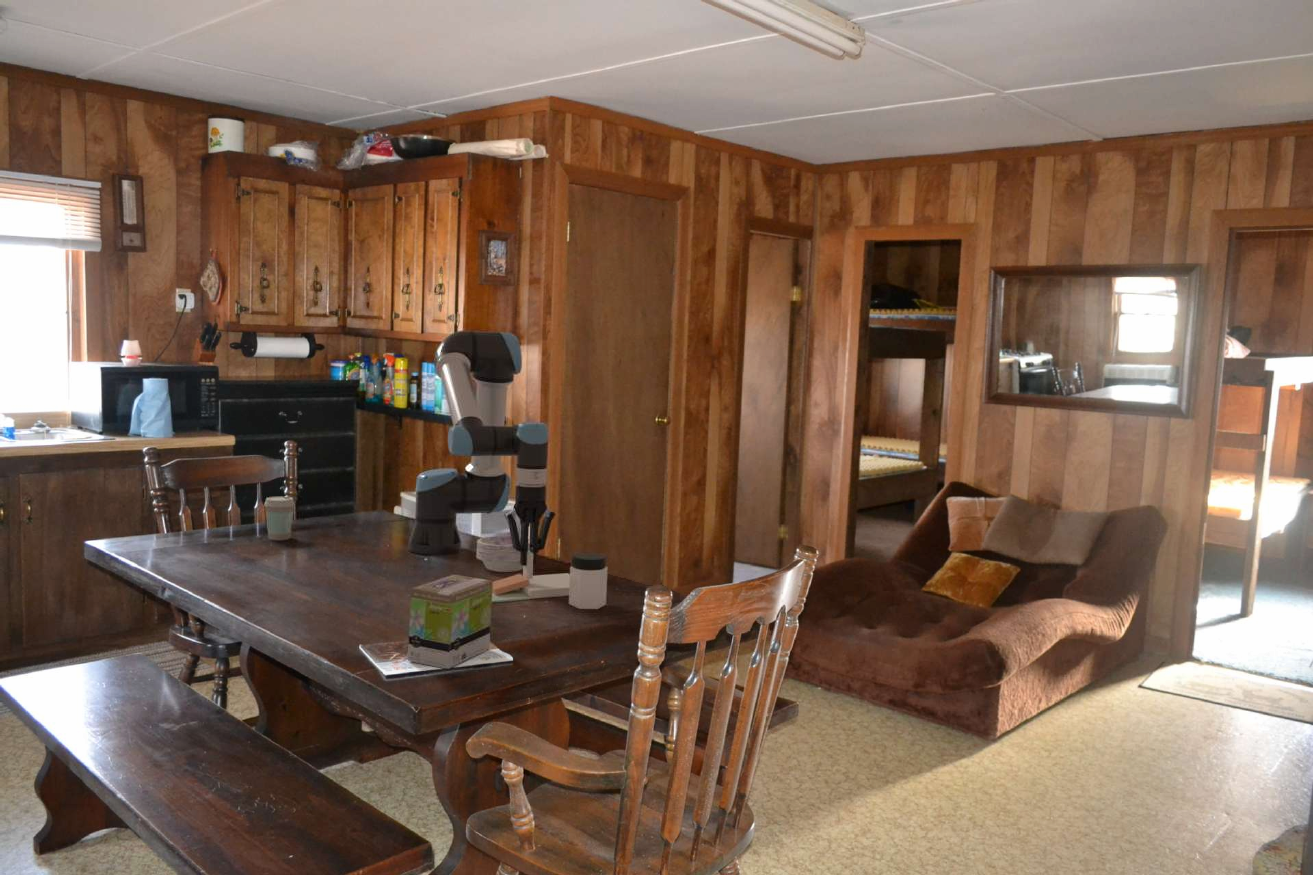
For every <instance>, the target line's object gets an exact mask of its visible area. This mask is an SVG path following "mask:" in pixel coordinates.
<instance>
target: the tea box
mask: <svg viewBox="0 0 1313 875" xmlns="http://www.w3.org/2000/svg"><path fill="white" fill-rule="evenodd" d="M493 582H494V581H492V580H491V579H490V580H489V579H484V578H476V577H471V576H466V575H465V576H464V575H458V574H450V575H448V576H444V577H442V578H439V579H436V580H433V581H430V582H426V583H424V584H420V585H418V586H415V587H411V590H410V608H409V610H410V611H409V623H408V624H409V628H408V644H407V645H408V646H407V661H409V662H412V663H416V664H420V665H426V666H431V667H434V668H440V669H448V670H449V669H451V668H452V667H455V666H457V665H459V664H460V663H462V662H465V661H467V660H468V659H471V658H474V657H476V656H478V655H480V654H482V653H484V651H485V650H487V649H488V650H490V645H491V644H490V642H491V627H492V626H491V625H492V623H491V622H492V608H493V607H492V606H493V603H492V589H493ZM488 650H487V651H488ZM485 652H486V651H485ZM477 654H478V655H477Z"/></svg>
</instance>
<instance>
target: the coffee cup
mask: <svg viewBox="0 0 1313 875" xmlns="http://www.w3.org/2000/svg"><path fill="white" fill-rule="evenodd" d="M263 506H264V508H265V516H266V525H267V526H266V527H267V536H268V540H269V541H286V540H287V541H288V540H290V537H291V531H292V522H293V515H294V508H295V507H294V506H296V504H295V500H294V498H293V497H290V496H269V497H266V498H265V502H264V505H263Z"/></svg>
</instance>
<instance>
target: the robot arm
mask: <svg viewBox="0 0 1313 875" xmlns="http://www.w3.org/2000/svg"><path fill="white" fill-rule="evenodd" d="M433 365H434V369H435V373H436V375H437V376H438V378H440V379H441V381H442V386H443V390H444V395H445V398H446V401H447V406H448V409H449V410H448V411H449V414H450V418H451V421H452V426H451V427H450V428H449V430H448V434H447V446H448V450H449V451H448V452H449V453H450V454H451V455H453V456H463V457H471V459H470V460H471V461H470V462H469V463H468V464H467V465H465V469H464V470H465V471H464V473H459V472H458V469H457V468H451V467H450V468H436V469H435V468H434V469H431V470H425V471H423V472H421V473H419V474H418V475H417V476H416V481H415V482H416V483H415V518H414V521H415V522H414V525H413V528H412V531H411V534H410V537H409V539H408V546H407V548H408V551H409V552H411V553H414V554H420V555H427V556H429V555H430V556H431V555H432V556H433V555H434V556H435V555H437V556H440V555H451V554H456V553H458V552H461V551H462V539H461V537H460V533H459V529H458V526H457V515H458V514H488V515H489V514H492V513H502V512H503V510H505V509H506V507H507V506H508V503H509V499H510V494H511V489H512V488H511V485H512V484H511V477H510V475H509V474H508V473H506V468H505V467H504V466H503V465H502V457H516V469H515V470H516V472H515V474H516V475H515V483H516V486H515V497H514V499H515V503H514V505H513V508H512V510H510V511H509V512H507V511H506V512H505V513H504V514H503V515H504V518H505V519H506V520H507V524H508V529H509V533H510V537H511V539H512V544H513V548H514V549H515V550H517V551H519V552H520V564H521V565H522V566H523V569H522V575H523V576H525V577H526V578H528V579H532V578H533V576H534V574H533V573H534V572H533V571H534V566H536V564H537V557H538V556H537V554H538V553H539V551H543V550H544V549H545V547H546V542H547V539H548V535H549V531H550V528H551V523H552V520H554V518H555V516H556V513H555V512H554V511H552V510H550V509H549V508H548V506H547V504H546V501H547V500H546V499H547V487H546V484H547V475H548V474H547V473H548V472H547V471H548V470H547V469H548V448H549V438H550V436H549V427H548V425H547V423H545V422H540V421H521V422H520V423H518V424H514V425H511V426H508V425H505V421H506V420H505V419H506V408H507V397H508V388H509V387H508V386H510V385H511V384H512V383H513V382H514V379H515V375H516V376H517V375H519V374H520V373H521V371H522V366H523V356H522V349H521V345H520V341H519V338H518V337H517V336H516V335H515V334H513V333H510V332H505V331H504V332H502V331H484V330H483V331H482V330H481V331H480V330H478V331H477V330H459V331H455V332H453V333H451V334H449V335H447V337H445V338H444V339H443V340H442V341H441V342H440V344H439V345H438V347H437V349H436V351H435V354H434V358H433ZM470 373H472V378H471V374H470ZM472 379H473V380H474V381H475V383H476V384H477V387H476V392H475V389H474V385H473V381H472ZM517 517H518V518H519V525H520V530H519V531H520V533H519V531H518V524H517V521H516V519H517ZM542 517H543V520H542V522H541V525H540V520H541V518H542ZM539 526H540V529H539ZM519 535H520V536H519ZM519 537H520V540H519ZM528 539H530V548H529V549H530V551H528Z"/></svg>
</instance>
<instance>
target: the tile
mask: <svg viewBox="0 0 1313 875" xmlns="http://www.w3.org/2000/svg"><path fill="white" fill-rule="evenodd" d="M528 585H530V583H529V579H528V578H526V577H525V576H523V574H521V573H517V574H515V575H511V576H508V577H504V578H501V579H497V580H495V581H493V589H492V593H493V594H495V595H499V594H502V593H505V592H509V591H512V590H515V589H518V588H522V587H525V586H528Z"/></svg>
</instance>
